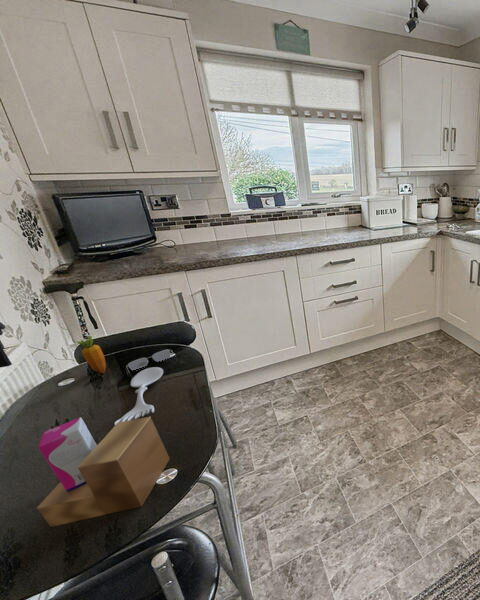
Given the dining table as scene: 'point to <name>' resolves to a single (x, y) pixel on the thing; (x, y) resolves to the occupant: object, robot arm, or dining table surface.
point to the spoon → (141, 382)
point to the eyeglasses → (143, 361)
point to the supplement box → (67, 451)
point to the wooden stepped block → (111, 475)
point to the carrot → (93, 355)
